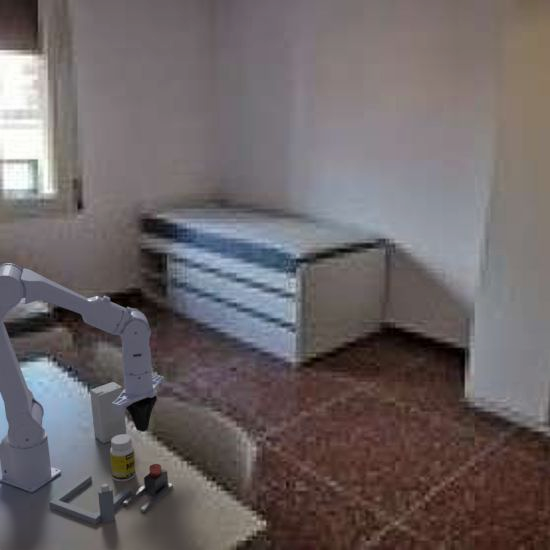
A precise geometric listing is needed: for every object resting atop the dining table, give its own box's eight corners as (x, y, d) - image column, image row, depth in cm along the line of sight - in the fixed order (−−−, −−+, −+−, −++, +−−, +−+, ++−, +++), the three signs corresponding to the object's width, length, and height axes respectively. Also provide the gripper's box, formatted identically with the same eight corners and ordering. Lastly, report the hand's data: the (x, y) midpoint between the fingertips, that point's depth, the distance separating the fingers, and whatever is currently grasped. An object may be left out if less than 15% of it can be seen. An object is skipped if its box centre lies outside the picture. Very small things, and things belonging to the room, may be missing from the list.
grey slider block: (145, 493, 131) (143, 470, 130) (157, 482, 135) (156, 460, 133) (155, 497, 130) (154, 473, 129) (168, 486, 134) (166, 463, 132)
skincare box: (117, 428, 156) (113, 380, 153) (127, 435, 153) (123, 386, 149) (93, 437, 152) (88, 388, 149) (103, 445, 149) (98, 395, 145)
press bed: (49, 507, 127) (45, 474, 125) (87, 479, 136) (84, 448, 134) (103, 527, 121) (100, 493, 119) (139, 497, 130) (137, 465, 128)
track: (123, 505, 128) (123, 502, 127) (152, 481, 135) (152, 477, 135) (144, 513, 125) (144, 509, 125) (173, 487, 133) (172, 484, 133)
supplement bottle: (130, 483, 135) (127, 446, 132) (108, 481, 135) (104, 444, 133) (139, 470, 139) (136, 434, 137) (118, 468, 140) (115, 431, 138)
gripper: (130, 387, 129) (135, 450, 133) (174, 359, 141) (178, 418, 145) (101, 380, 132) (107, 442, 136) (147, 354, 144) (151, 411, 148)
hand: (142, 429), depth 141 cm, fingers closed
